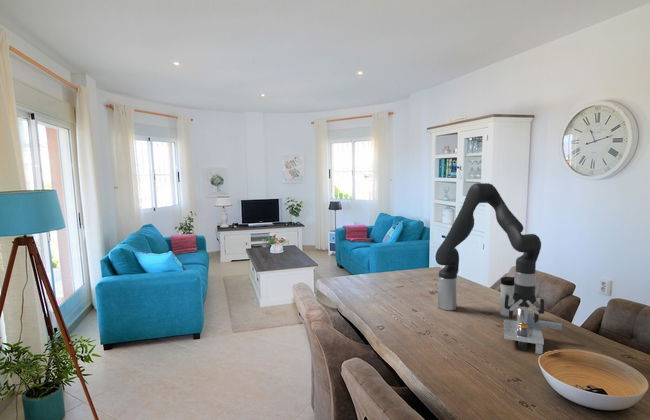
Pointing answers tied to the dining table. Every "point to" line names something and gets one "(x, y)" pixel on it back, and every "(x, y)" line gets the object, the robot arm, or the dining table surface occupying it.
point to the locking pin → (522, 332)
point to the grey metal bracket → (528, 329)
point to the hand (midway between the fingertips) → (523, 320)
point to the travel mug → (506, 287)
